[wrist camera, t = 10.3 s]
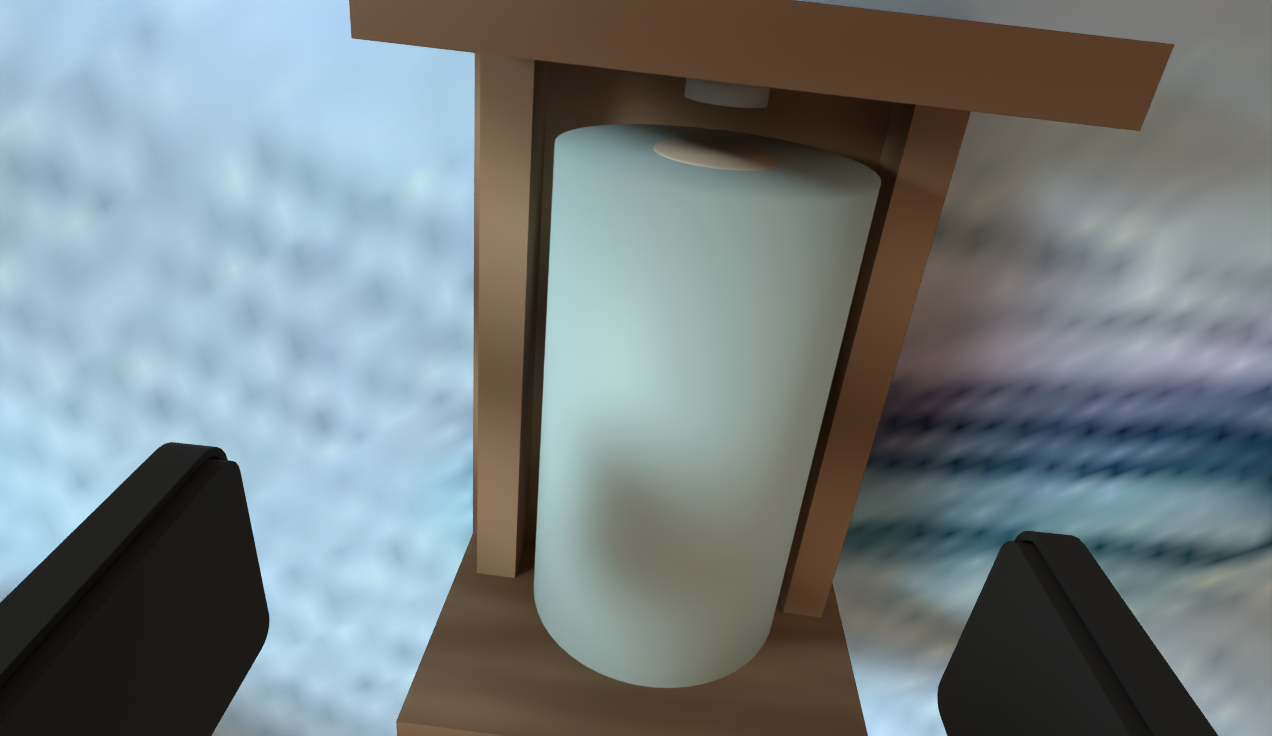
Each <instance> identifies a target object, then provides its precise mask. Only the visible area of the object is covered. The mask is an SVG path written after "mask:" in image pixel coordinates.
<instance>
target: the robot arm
mask: <svg viewBox="0 0 1272 736" xmlns="http://www.w3.org/2000/svg"><path fill="white" fill-rule="evenodd" d="M268 629H269V613H268V608H267V603H266V598H265V593H264V588H263V582H262V577H261V572H260V567H259V562H258V557H257V552H256V547H255V542H254V537H253V532H252V527H251V522H250V517H249V512H248V507H247V502H246V497H245V492H244V487H243V482H242V477H241V472H240V469H239V466H238V465H237V463H236V462H234V461H228V460H227V457H226V454H225V453H224V451H223V450H222V449H220V448H217V447H211V446H202V445H192V444H182V443H173V442H171V443H166V444H164V445H162V446H161V447H159V448H158V449H157V450H156V451H155V452H154V453H153V454H152V455H151V456H150V457H149V458H148V459H147V460H146V461H145V462H144V463H142V464H141V465H140V466H139V467H138V468H137V469H136V470H135V471H134V472H133V473H132V474H131V475H130V476H129V477H128V478H127V479H126V480H125V481H124V482H123V483H122V484H121V485H120V486H119V487H118V488H117V489H116V490H115V491H114V492H113V493H112V494H111V495H110V496H109V497H108V498H107V499H106V500H105V501H104V502H103V503H102V504H101V505H100V506H99V507H98V508H97V509H96V510H95V511H94V512H93V513H91V514H90V515H89V516H88V517H87V518H86V519H85V520H84V521H83V522H82V523H81V524H80V525H79V526H78V527H77V528H76V529H75V530H74V531H73V532H72V533H71V534H70V535H69V536H68V537H67V538H66V539H65V540H64V541H63V542H62V543H61V544H60V545H59V546H58V547H57V548H56V549H55V550H54V551H53V552H52V553H51V554H50V555H49V556H48V557H47V558H46V559H45V560H44V561H43V562H41V563H40V564H39V565H38V566H37V567H36V568H35V569H34V570H33V571H32V572H31V573H30V574H29V575H28V576H27V577H26V578H25V579H24V580H23V581H22V582H21V583H20V584H19V585H18V586H17V587H16V588H15V589H14V590H13V591H12V592H11V593H10V594H9V595H8V596H7V597H6V598H5V599H4V600H3V601H2V602H1V603H0V736H211V735H212V733H213V732H214V730H215V728H216V726H217V725H218V723H219V721H220V720H221V718H222V716H223V714H224V713H225V711H226V709H227V708H228V706H229V704H230V702H231V701H232V699H233V697H234V695H235V694H236V692H237V690H238V689H239V687H240V685H241V683H242V682H243V680H244V678H245V677H246V675H247V673H248V671H249V670H250V668H251V666H252V664H253V663H254V661H255V659H256V658H257V656H258V654H259V652H260V651H261V649H262V647H263V645H264V643H265V640H266V637H267V633H268ZM938 708H939V712H940V716H941V719H942V722H943V724H944V727H945V730H946V733H947V736H1218V735H1217V733H1216V732H1215V730H1214V729H1213V728H1212V726H1211V725H1210V723H1209V722H1208V720H1207V719H1206V718H1205V716H1204V715H1203V713H1202V712H1201V710H1200V709H1199V708H1198V706H1197V705H1196V703H1195V702H1194V700H1193V699H1192V698H1191V696H1190V695H1189V693H1188V692H1187V690H1186V689H1185V688H1184V686H1183V685H1182V683H1181V682H1180V680H1179V679H1178V678H1177V676H1176V675H1175V673H1174V672H1173V670H1172V669H1171V668H1170V666H1169V665H1168V663H1167V662H1166V660H1165V659H1164V658H1163V656H1162V655H1161V653H1160V652H1159V650H1158V649H1157V648H1156V646H1155V645H1154V643H1153V642H1152V640H1151V639H1150V638H1149V636H1148V635H1147V633H1146V632H1145V630H1144V629H1143V628H1142V626H1141V625H1140V623H1139V622H1138V620H1137V619H1136V618H1135V616H1134V615H1133V613H1132V612H1131V610H1130V609H1129V608H1128V606H1127V605H1126V603H1125V602H1124V600H1123V599H1122V598H1121V596H1120V595H1119V593H1118V592H1117V590H1116V589H1115V588H1114V586H1113V585H1112V583H1111V582H1110V580H1109V579H1108V578H1107V576H1106V575H1105V573H1104V572H1103V570H1102V569H1101V568H1100V566H1099V565H1098V563H1097V562H1096V560H1095V559H1094V558H1093V556H1092V555H1091V553H1090V552H1089V550H1088V549H1087V547H1086V546H1085V545H1084V544H1083V543H1082V542H1081V540H1080V539H1079V538H1077V537H1074V536H1072V535H1063V534H1053V533H1043V532H1034V531H1024V532H1022V533H1021V534H1019V535H1018V536H1017V537H1016V539H1015V541H1008V542H1006V543H1005V544H1003V546H1002V547H1001V549H1000V551H999V553H998V555H997V558H996V560H995V562H994V564H993V566H992V569H991V571H990V573H989V575H988V577H987V580H986V582H985V584H984V586H983V588H982V591H981V593H980V595H979V597H978V599H977V602H976V604H975V606H974V608H973V610H972V613H971V615H970V617H969V619H968V621H967V624H966V626H965V628H964V630H963V632H962V635H961V637H960V639H959V641H958V643H957V646H956V648H955V650H954V652H953V654H952V657H951V659H950V661H949V663H948V665H947V668H946V670H945V672H944V674H943V676H942V679H941V681H940V684H939V687H938Z"/></svg>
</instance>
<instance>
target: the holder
mask: <svg viewBox="0 0 1272 736" xmlns="http://www.w3.org/2000/svg"><path fill="white" fill-rule="evenodd" d="M349 5H350V20H351V35H352V38H354V39H363V40H371V41H380V42H388V43H397V44H405V45H414V46H422V47H431V48H439V49H448V50H456V51H465V52H473V53H475V161H474V417H473V535H472V537H471V540H470V542H469V545H468V547H467V549H466V552H465V554H464V557H463V559H462V562H461V564H460V567H459V569H458V571H457V574H456V576H455V579H454V581H453V584H452V586H451V589H450V591H449V594H448V596H447V598H446V601H445V603H444V606H443V608H442V611H441V613H440V616H439V618H438V621H437V623H436V625H435V628H434V630H433V633H432V635H431V638H430V640H429V643H428V645H427V648H426V650H425V652H424V655H423V657H422V660H421V662H420V665H419V667H418V670H417V672H416V675H415V677H414V679H413V682H412V684H411V687H410V689H409V692H408V694H407V697H406V699H405V702H404V704H403V706H402V709H401V711H400V714H399V716H398V719H397V721H396V724H397V736H868V734H867V730H866V726H865V721H864V717H863V713H862V709H861V704H860V700H859V696H858V691H857V687H856V683H855V678H854V674H853V670H852V665H851V661H850V657H849V653H848V648H847V644H846V640H845V635H844V631H843V627H842V622H841V618H840V614H839V610H838V605H837V601H836V597H835V592H834V588H833V584H832V581H833V577H834V574H835V570H836V567H837V564H838V560H839V557H840V553H841V550H842V547H843V543H844V540H845V536H846V533H847V530H848V526H849V523H850V519H851V516H852V513H853V509H854V506H855V503H856V499H857V496H858V492H859V489H860V486H861V482H862V479H863V475H864V472H865V469H866V465H867V462H868V458H869V455H870V452H871V448H872V445H873V441H874V438H875V435H876V431H877V428H878V424H879V421H880V418H881V414H882V411H883V407H884V404H885V401H886V397H887V394H888V390H889V387H890V384H891V380H892V377H893V374H894V370H895V367H896V363H897V360H898V357H899V353H900V350H901V346H902V343H903V340H904V336H905V333H906V329H907V326H908V323H909V319H910V316H911V312H912V309H913V306H914V302H915V299H916V295H917V292H918V289H919V285H920V282H921V278H922V275H923V272H924V268H925V265H926V261H927V258H928V255H929V251H930V248H931V245H932V241H933V238H934V234H935V231H936V228H937V224H938V221H939V217H940V214H941V211H942V207H943V204H944V200H945V197H946V194H947V190H948V187H949V183H950V180H951V177H952V173H953V170H954V166H955V163H956V160H957V156H958V153H959V149H960V146H961V143H962V139H963V136H964V132H965V129H966V126H967V122H968V119H969V115H970V112H971V111H974V112H983V113H991V114H1000V115H1008V116H1017V117H1025V118H1034V119H1042V120H1051V121H1059V122H1068V123H1076V124H1085V125H1093V126H1102V127H1110V128H1119V129H1127V130H1136V131H1140V129H1141V127H1142V124H1143V122H1144V119H1145V117H1146V114H1147V112H1148V109H1149V107H1150V104H1151V102H1152V99H1153V97H1154V94H1155V92H1156V89H1157V87H1158V84H1159V82H1160V79H1161V77H1162V74H1163V72H1164V69H1165V67H1166V64H1167V62H1168V59H1169V57H1170V54H1171V52H1172V49H1173V47H1174V44H1165V43H1157V42H1148V41H1139V40H1131V39H1122V38H1113V37H1105V36H1096V35H1088V34H1079V33H1070V32H1062V31H1053V30H1044V29H1036V28H1027V27H1018V26H1010V25H1001V24H993V23H984V22H975V21H967V20H958V19H949V18H941V17H932V16H923V15H915V14H906V13H898V12H889V11H880V10H872V9H863V8H854V7H846V6H837V5H829V4H820V3H811V2H803V1H794V0H349ZM615 124H655V125H674V126H688V127H699V128H708V129H716V130H725V131H733V132H740V133H747V134H753V135H759V136H765V137H770V138H776V139H780V140H785V141H790V142H795V143H799V144H803V145H807V146H811V147H815V148H819V149H822V150H826V151H829V152H832V153H835V154H839V155H841V156H844V157H847V158H850V159H852V160H854V161H857V162H859V163H861V164H863V165H865V166H867V167H869V168H870V169H872V170H873V171H875V172H876V173H877V174H878V175H879V176H880V179H881V185H880V189H879V193H878V197H877V201H876V205H875V209H874V213H873V217H872V221H871V226H870V230H869V234H868V238H867V242H866V246H865V250H864V254H863V258H862V262H861V266H860V270H859V274H858V278H857V282H856V286H855V290H854V294H853V298H852V302H851V306H850V310H849V314H848V318H847V323H846V327H845V331H844V335H843V339H842V343H841V347H840V351H839V355H838V359H837V363H836V367H835V371H834V375H833V379H832V383H831V387H830V391H829V395H828V399H827V403H826V407H825V411H824V415H823V419H822V424H821V428H820V432H819V436H818V440H817V444H816V448H815V452H814V456H813V460H812V464H811V468H810V472H809V476H808V480H807V484H806V488H805V492H804V496H803V500H802V504H801V508H800V512H799V516H798V521H797V525H796V529H795V533H794V537H793V541H792V545H791V549H790V553H789V557H788V561H787V565H786V569H785V573H784V577H783V581H782V585H781V589H780V593H779V597H778V601H777V605H776V609H775V613H774V617H773V622H772V625H771V629H770V632H769V635H768V637H767V639H766V641H765V643H764V645H763V646H762V647H761V649H760V650H759V651H758V653H757V654H756V655H755V656H754V657H753V658H752V659H751V660H750V661H749V662H748V663H747V664H745V665H744V666H742V667H741V668H739V669H738V670H736V671H735V672H733V673H731V674H729V675H727V676H725V677H723V678H721V679H718V680H715V681H712V682H708V683H705V684H700V685H695V686H690V687H679V688H655V687H647V686H640V685H634V684H630V683H626V682H622V681H619V680H616V679H613V678H610V677H608V676H605V675H602V674H600V673H598V672H596V671H594V670H592V669H590V668H588V667H587V666H585V665H583V664H582V663H580V662H579V661H577V660H576V659H574V658H573V657H572V656H570V655H569V654H568V653H567V652H566V651H565V650H564V649H562V648H561V647H560V646H559V645H558V644H557V642H556V641H555V640H554V639H553V638H552V637H551V636H550V634H549V632H548V631H547V629H546V628H545V626H544V625H543V623H542V621H541V618H540V616H539V614H538V612H537V608H536V604H535V600H534V571H535V550H536V529H537V508H538V487H539V465H540V444H541V423H542V402H543V381H544V360H545V338H546V317H547V296H548V275H549V254H550V233H551V212H552V190H553V169H554V148H555V140H556V138H557V137H558V136H559V135H561V134H563V133H565V132H567V131H570V130H574V129H578V128H583V127H590V126H599V125H615Z"/></svg>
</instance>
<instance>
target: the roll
mask: <svg viewBox="0 0 1272 736" xmlns="http://www.w3.org/2000/svg"><path fill="white" fill-rule="evenodd" d="M880 185H881V179H880V176H879V175H878V174H877V173H876V172H875V171H873V170H872V169H870V168H869V167H867V166H865V165H863V164H861V163H859V162H857V161H854V160H852V159H850V158H847V157H844V156H841V155H839V154H835V153H832V152H829V151H826V150H822V149H819V148H815V147H811V146H807V145H803V144H799V143H795V142H790V141H785V140H780V139H776V138H770V137H765V136H759V135H753V134H747V133H740V132H733V131H725V130H716V129H708V128H699V127H688V126H674V125H655V124H615V125H599V126H590V127H583V128H578V129H574V130H570V131H567V132H565V133H563V134H561V135H559V136H558V137H557V138H556V140H555V148H554V169H553V190H552V212H551V233H550V254H549V275H548V296H547V317H546V338H545V360H544V381H543V402H542V423H541V444H540V465H539V487H538V508H537V529H536V550H535V571H534V600H535V604H536V608H537V612H538V614H539V616H540V618H541V621H542V623H543V625H544V626H545V628H546V629H547V631H548V632H549V634H550V636H551V637H552V638H553V639H554V640H555V641H556V642H557V644H558V645H559V646H560V647H561V648H562V649H564V650H565V651H566V652H567V653H568V654H569V655H570V656H572V657H573V658H574V659H576V660H577V661H579V662H580V663H582V664H583V665H585V666H587V667H588V668H590V669H592V670H594V671H596V672H598V673H600V674H602V675H605V676H608V677H610V678H613V679H616V680H619V681H622V682H626V683H630V684H634V685H640V686H647V687H655V688H679V687H690V686H695V685H700V684H705V683H708V682H712V681H715V680H718V679H721V678H723V677H725V676H727V675H729V674H731V673H733V672H735V671H736V670H738V669H739V668H741V667H742V666H744V665H745V664H747V663H748V662H749V661H750V660H751V659H752V658H753V657H754V656H755V655H756V654H757V653H758V651H759V650H760V649H761V647H762V646H763V645H764V643H765V641H766V639H767V637H768V635H769V632H770V629H771V625H772V622H773V617H774V613H775V609H776V605H777V601H778V597H779V593H780V589H781V585H782V581H783V577H784V573H785V569H786V565H787V561H788V557H789V553H790V549H791V545H792V541H793V537H794V533H795V529H796V525H797V521H798V516H799V512H800V508H801V504H802V500H803V496H804V492H805V488H806V484H807V480H808V476H809V472H810V468H811V464H812V460H813V456H814V452H815V448H816V444H817V440H818V436H819V432H820V428H821V424H822V419H823V415H824V411H825V407H826V403H827V399H828V395H829V391H830V387H831V383H832V379H833V375H834V371H835V367H836V363H837V359H838V355H839V351H840V347H841V343H842V339H843V335H844V331H845V327H846V323H847V318H848V314H849V310H850V306H851V302H852V298H853V294H854V290H855V286H856V282H857V278H858V274H859V270H860V266H861V262H862V258H863V254H864V250H865V246H866V242H867V238H868V234H869V230H870V226H871V221H872V217H873V213H874V209H875V205H876V201H877V197H878V193H879V189H880Z"/></svg>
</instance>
